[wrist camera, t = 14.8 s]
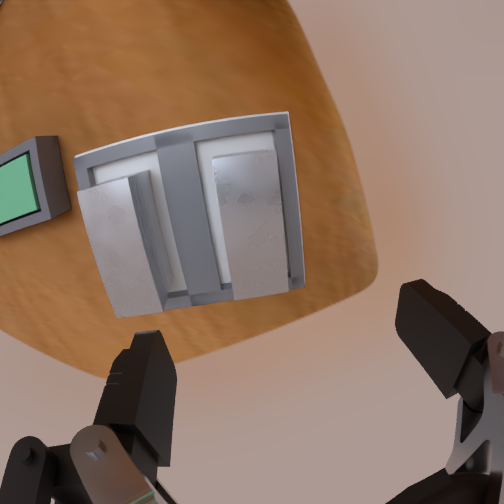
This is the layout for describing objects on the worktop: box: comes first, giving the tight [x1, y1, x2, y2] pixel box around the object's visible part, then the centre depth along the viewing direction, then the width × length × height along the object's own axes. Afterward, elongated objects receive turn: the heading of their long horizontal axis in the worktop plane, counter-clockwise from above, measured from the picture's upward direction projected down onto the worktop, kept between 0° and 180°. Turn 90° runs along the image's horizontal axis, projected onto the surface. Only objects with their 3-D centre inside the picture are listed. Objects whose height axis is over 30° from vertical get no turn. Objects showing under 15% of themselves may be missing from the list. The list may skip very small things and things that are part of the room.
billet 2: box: [212, 149, 289, 301], centre depth 22 cm, size 4×10×6 cm, turn 7°
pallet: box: [73, 111, 306, 310], centre depth 24 cm, size 16×19×2 cm
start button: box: [0, 154, 41, 223], centre depth 19 cm, size 5×10×2 cm, turn 98°
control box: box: [0, 136, 71, 236], centre depth 20 cm, size 7×12×4 cm, turn 98°
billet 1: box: [77, 169, 174, 318], centre depth 21 cm, size 10×4×6 cm, turn 8°
